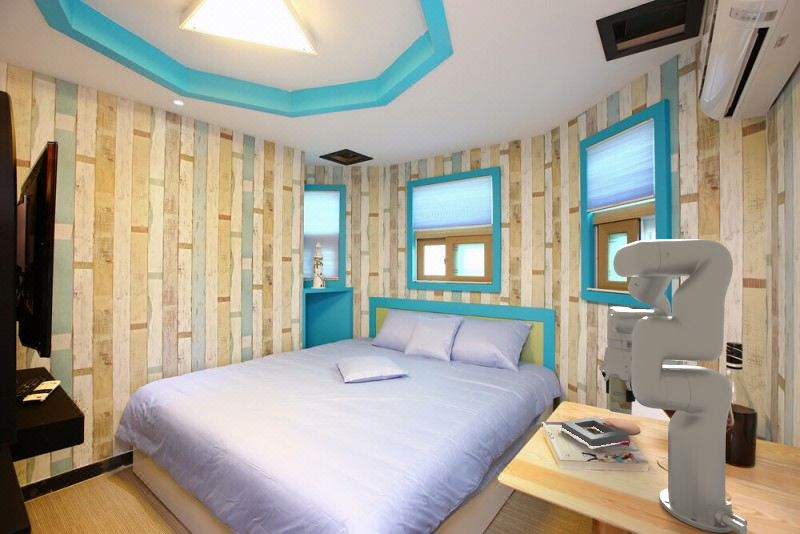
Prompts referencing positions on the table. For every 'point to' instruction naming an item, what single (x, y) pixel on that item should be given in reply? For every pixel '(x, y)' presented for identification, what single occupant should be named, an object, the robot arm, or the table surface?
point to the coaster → (624, 425)
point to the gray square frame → (608, 437)
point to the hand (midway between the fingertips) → (620, 396)
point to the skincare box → (618, 396)
